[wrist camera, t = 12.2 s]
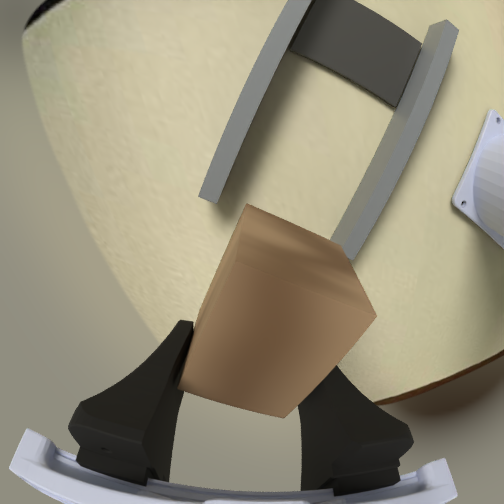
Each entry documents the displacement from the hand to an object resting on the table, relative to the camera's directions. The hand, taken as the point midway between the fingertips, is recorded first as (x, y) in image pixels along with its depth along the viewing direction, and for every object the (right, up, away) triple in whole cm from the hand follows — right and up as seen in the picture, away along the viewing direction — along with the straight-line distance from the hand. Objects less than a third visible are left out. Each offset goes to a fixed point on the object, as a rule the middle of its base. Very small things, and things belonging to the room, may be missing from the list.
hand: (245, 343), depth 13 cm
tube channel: (+5, +13, 0) cm, 14 cm away
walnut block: (+1, +3, 0) cm, 3 cm away
